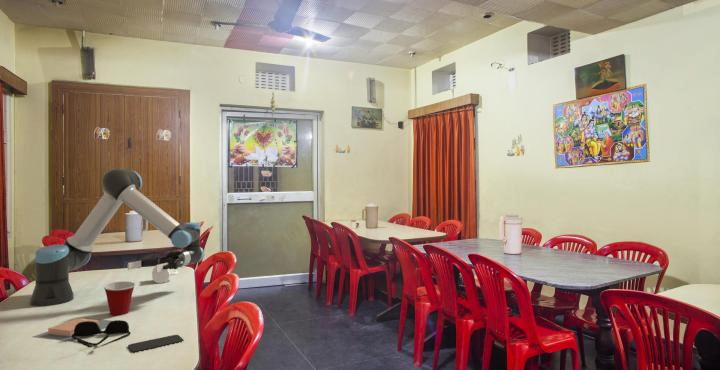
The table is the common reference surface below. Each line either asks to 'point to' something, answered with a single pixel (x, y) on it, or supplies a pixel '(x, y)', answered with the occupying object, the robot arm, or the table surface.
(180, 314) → the table surface
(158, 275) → the mug
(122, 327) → the sunglasses
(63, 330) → the tile
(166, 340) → the phone
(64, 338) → the mat
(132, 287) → the plastic cup
